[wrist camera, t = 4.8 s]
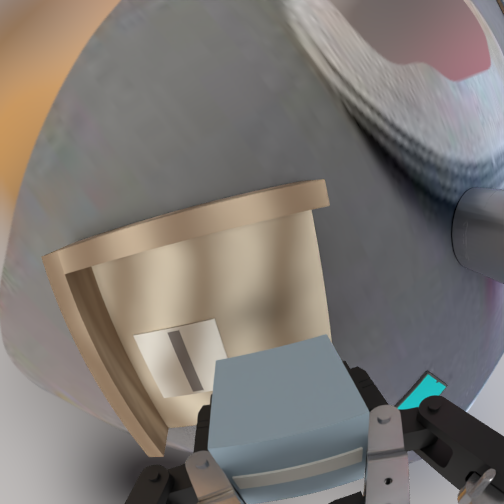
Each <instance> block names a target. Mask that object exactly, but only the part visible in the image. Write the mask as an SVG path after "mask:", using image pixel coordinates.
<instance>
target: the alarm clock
mask: <svg viewBox="0 0 504 504" xmlns="http://www.w3.org/2000/svg"><path fill="white" fill-rule="evenodd" d="M497 1H498V3H499V5H500V7H501V9H502V12H503V14H504V0H497Z"/></svg>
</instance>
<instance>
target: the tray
mask: <svg viewBox="0 0 504 504" xmlns="http://www.w3.org/2000/svg"><path fill="white" fill-rule="evenodd" d="M326 206H330V204H329V199H328V194H327V189H326V184H325V179H320V180H308V181H299V182H294V183H289V184H285V185H280V186H275V187H271V188H266V189H262V190H257V191H253V192H249V193H244V194H240V195H236V196H232V197H228V198H224V199H220V200H216V201H212V202H208V203H204V204H200V205H196V206H193V207H189V208H185V209H181V210H178V211H174V212H171V213H167V214H164V215H160V216H157V217H153V218H150V219H146V220H143V221H140V222H136V223H133V224H130V225H126V226H123V227H120V228H117V229H114V230H111V231H107V232H104V233H101V234H98V235H95V236H92V237H89V238H86V239H83V240H80V241H78V242H75V243H72V244H70V245H68V246H65V247H63V248H61V249H58V250H56V251H54V252H51V253H49V254H47V255H45V256H42V260H43V264H44V267H45V270H46V273H47V276H48V279H49V281H50V284H51V287H52V290H53V292H54V295H55V298H56V300H57V303H58V305H59V308H60V310H61V312H62V315H63V317H64V319H65V322H66V324H67V326H68V328H69V331H70V333H71V335H72V337H73V339H74V341H75V343H76V345H77V347H78V349H79V351H80V353H81V355H82V357H83V359H84V361H85V363H86V365H87V366H88V368H89V370H90V372H91V374H92V375H93V377H94V379H95V381H96V382H97V384H98V386H99V387H100V389H101V391H102V392H103V394H104V395H105V397H106V399H107V400H108V402H109V403H110V405H111V406H112V408H113V409H114V411H115V412H116V414H117V415H118V417H119V418H120V420H121V421H122V422H123V424H124V425H125V427H126V428H127V429H128V431H129V432H130V434H131V435H132V436H133V438H134V439H135V440H136V441H137V443H138V444H139V445H140V447H141V448H142V449H143V450H144V452H145V453H146V454H147V455H148V456H149V457H163V456H164V451H165V446H166V440H167V434H168V428H175V427H185V426H193V425H197V418H198V412H199V411H200V409H201V408H202V406H203V405H209V404H210V397H211V394H213V384H214V374H215V364H216V360H221V359H226V358H232V357H236V356H241V355H246V354H251V353H255V352H259V351H264V350H268V349H272V348H276V347H280V346H284V345H288V344H292V343H296V342H300V341H303V340H307V339H311V338H314V337H318V336H321V335H325V334H327V335H328V337H329V339H330V341H331V343H332V340H331V331H330V323H329V315H328V307H327V300H326V293H325V286H324V279H323V273H322V267H321V260H320V254H319V249H318V243H317V237H316V232H315V226H314V221H313V216H312V211H311V210H312V209H317V208H321V207H326Z"/></svg>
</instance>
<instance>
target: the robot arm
mask: <svg viewBox="0 0 504 504" xmlns="http://www.w3.org/2000/svg"><path fill="white" fill-rule="evenodd" d="M452 240H453V248H454V252H455V255H456V257H457V260H458V261H459V262H460V264H461V265H462V266H464V267H465V268H468V269H470V270H472V271H475V272H477V273H480V274H482V275H484V276H487V277H489V278H491V279H494V280H496V281H498V282H500V283H503V284H504V190H502V189H492V188H480V187H475V188H471V189H469V190H468V191H466V193H465V194H464V195H463V196H462V198H461V199H460V201H459V203H458V206H457V208H456V211H455V215H454V220H453V228H452ZM342 362H343V364H344V366H345V368H346V369H347V371H348V373H349V375H350V377H351V379H352V380H353V382H354V384H355V386H356V388H357V389H358V391H359V393H360V395H361V397H362V399H363V401H364V402H365V404H366V406H367V408H368V410H369V412H370V413H369V430H368V441H367V454H366V463H365V480H364V492H363V495H362V493H361V491H360V492H357V493H355V494H352V495H349V496H346V497H343V498H340V499H337V500H334V501H333V502H331V503H329V504H410V490H409V489H410V486H409V468H408V454H407V451H412V450H413V451H414V452H415V453H416V454H418V455H419V456H420V457H421V458H422V459H423V460H425V461H426V462H427V463H428V464H429V465H430V466H431V467H433V468H434V469H435V470H436V471H437V472H438V473H440V474H441V475H442V476H443V477H444V478H445V479H447V480H448V481H449V482H451V484H453V485H454V486H455V487H456V488H457V489H459V490H460V491H459V494H458V498H457V500H458V503H459V504H504V436H502V435H501V434H499V433H498V432H496V431H494V430H493V429H491V428H490V427H488V426H487V425H485V424H484V423H482V422H481V421H479V420H477V419H476V418H475V417H473V416H471V415H470V414H468V413H467V412H465V411H464V410H462V409H461V408H459V407H458V406H456V405H455V404H453V403H452V402H450V401H449V400H447V399H446V398H444V397H442V396H438V395H433V396H429V397H427V398H425V399H423V400H422V401H421V403H420V405H419V407H415V408H410V409H397V408H396V407H394V406H392V405H389V404H388V403H387V402H386V400H385V399H384V397H383V396H382V394H381V393H380V392H379V390H378V389H377V387H376V386H375V385H374V383H373V381H372V380H371V379H370V377H369V375H368V374H367V373H366V371H364V370H363V369H361V368H359V367H355V368H352V369H350V368H349V366H348V364H347V363H346V361H342ZM211 404H212V394H211V397H210V404H209V405H203V406H202V408H201V409H200V411H199V412H198V418H197V427H196V428H197V429H196V436H195V445H194V453H193V454H191V455H190V456H189V457H188V459H187V460H186V463H185V464H183V465H181V466H178V467H175V468H171V469H168V470H167V469H166V468H165V467H163V466H161V465H151V466H149V467H147V468H145V469H144V470H143V471H142V472H141V474H140V476H139V478H138V480H137V482H136V483H135V485H134V487H133V489H132V491H131V493H130V495H129V497H128V499H127V500H126V502H125V504H247V503H246V502H245V500H244V499H243V497H242V495H241V494H240V492H239V491H238V490H236V489H235V487H234V486H233V485H232V483H231V482H230V480H229V478H228V476H227V475H226V473H225V472H224V470H223V469H221V468H220V467H219V465H218V464H217V462H216V461H215V459H214V458H213V456H212V455H211V453H210V452H209V450H208V437H209V426H210V415H211Z"/></svg>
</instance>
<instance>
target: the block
mask: <svg viewBox="0 0 504 504" xmlns="http://www.w3.org/2000/svg"><path fill="white" fill-rule="evenodd" d="M369 413H370V412H369V410H368V408H367V406H366V404H365V402H364V401H363V399H362V397H361V395H360V393H359V391H358V389H357V388H356V386H355V384H354V382H353V380H352V379H351V377H350V375H349V373H348V371H347V369H346V368H345V366H344V364H343V362H342V360H341V359H340V357H339V355H338V353H337V351H336V350H335V348H334V346H333V344H332V343H331V341H330V339H329V337H328V335H327V334H325V335H321V336H318V337H314V338H311V339H307V340H303V341H300V342H296V343H292V344H288V345H284V346H280V347H276V348H272V349H268V350H264V351H259V352H255V353H251V354H246V355H241V356H236V357H232V358H226V359H221V360H216V364H215V374H214V384H213V394H212V404H211V415H210V426H209V437H208V450H209V452H210V453H211V455H212V456H213V458H214V459H215V461H216V462H217V464H218V465H219V467H220V468H221V469H223V470H224V472H225V473H226V475H227V476H228V478H229V480H230V482H231V483H232V485H233V486H234V487H235V489H236V490H238V491H239V492H240V494H241V495H242V497H243V499H244V500H245V501H246V503H247V504H256V503H263V502H271V501H277V500H282V499H288V498H293V497H298V496H303V495H307V494H311V493H316V492H319V491H323V490H327V489H330V488H334V487H337V486H341V485H344V484H347V483H350V482H353V481H356V480H359V479H362V478H364V472H365V463H366V454H367V441H368V430H369Z"/></svg>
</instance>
